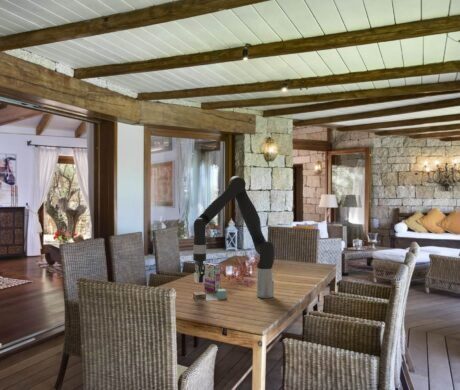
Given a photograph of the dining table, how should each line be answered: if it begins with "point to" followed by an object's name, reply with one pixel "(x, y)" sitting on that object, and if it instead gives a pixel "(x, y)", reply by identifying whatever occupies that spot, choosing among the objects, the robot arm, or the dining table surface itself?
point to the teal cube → (221, 293)
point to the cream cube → (196, 278)
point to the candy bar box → (212, 276)
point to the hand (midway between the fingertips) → (199, 281)
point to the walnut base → (199, 295)
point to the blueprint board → (209, 297)
